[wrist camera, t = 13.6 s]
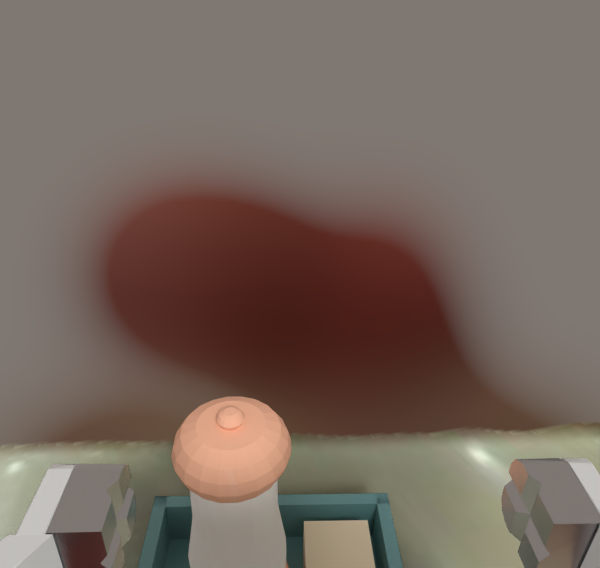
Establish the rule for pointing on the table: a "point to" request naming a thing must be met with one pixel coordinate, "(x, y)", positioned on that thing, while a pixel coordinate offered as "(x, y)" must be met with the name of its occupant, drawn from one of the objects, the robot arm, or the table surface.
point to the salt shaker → (233, 483)
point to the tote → (294, 511)
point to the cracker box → (337, 544)
